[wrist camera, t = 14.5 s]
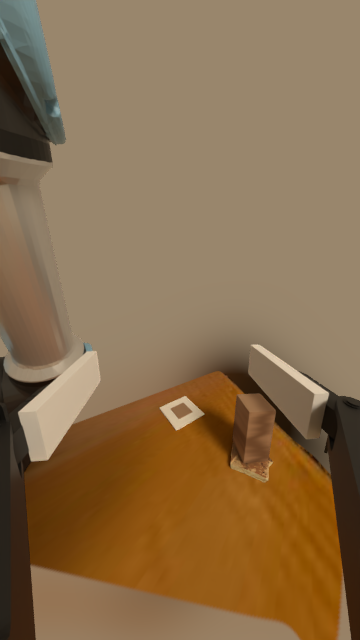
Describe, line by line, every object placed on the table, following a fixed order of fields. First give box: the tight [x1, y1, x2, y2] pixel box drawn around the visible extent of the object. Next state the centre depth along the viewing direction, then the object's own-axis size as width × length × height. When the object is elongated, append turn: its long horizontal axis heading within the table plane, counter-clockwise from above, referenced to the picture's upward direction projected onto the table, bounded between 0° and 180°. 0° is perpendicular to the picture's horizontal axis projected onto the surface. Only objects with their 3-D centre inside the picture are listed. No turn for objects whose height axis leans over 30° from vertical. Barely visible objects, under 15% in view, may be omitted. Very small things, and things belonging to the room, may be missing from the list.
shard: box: [230, 442, 273, 482], centre depth 36 cm, size 11×8×2 cm
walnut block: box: [233, 393, 276, 463], centre depth 34 cm, size 5×5×11 cm
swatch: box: [159, 396, 204, 431], centre depth 47 cm, size 9×9×1 cm
